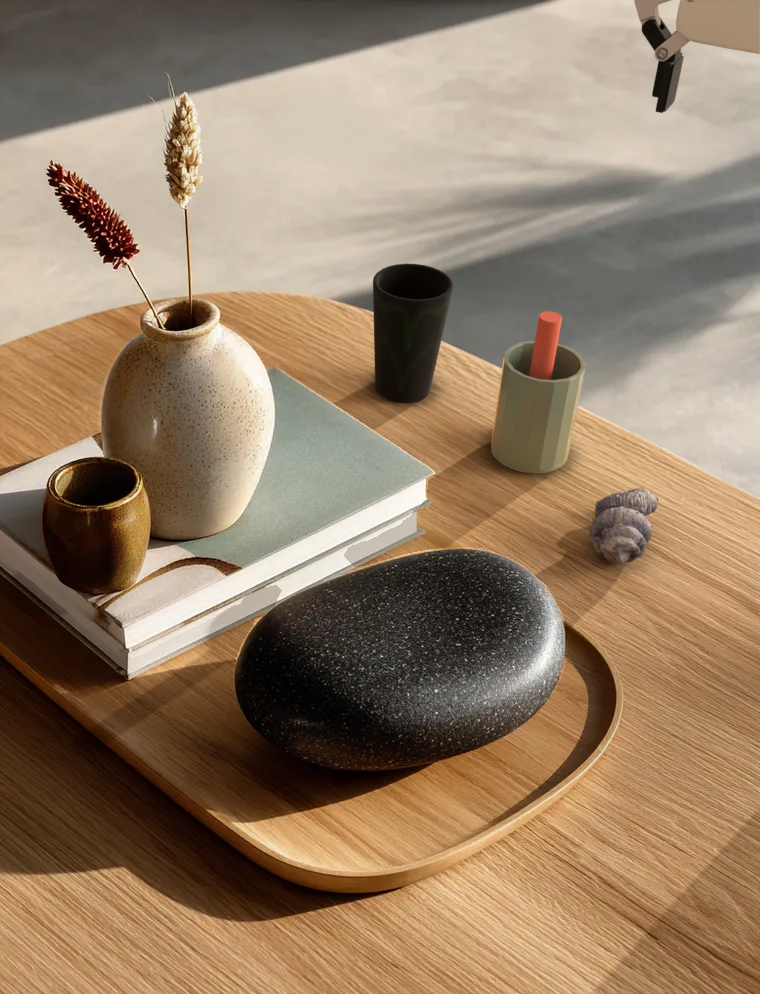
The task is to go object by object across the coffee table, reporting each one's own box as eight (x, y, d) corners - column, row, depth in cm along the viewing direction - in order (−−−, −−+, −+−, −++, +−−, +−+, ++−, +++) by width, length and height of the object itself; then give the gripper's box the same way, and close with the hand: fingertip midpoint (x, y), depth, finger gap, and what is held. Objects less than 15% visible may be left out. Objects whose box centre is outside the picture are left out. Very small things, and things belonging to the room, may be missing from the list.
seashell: (612, 519, 120) (610, 593, 112) (582, 477, 118) (578, 549, 110) (667, 498, 117) (669, 572, 110) (638, 454, 115) (638, 526, 108)
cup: (403, 360, 139) (413, 255, 132) (456, 391, 135) (470, 284, 127) (349, 384, 135) (356, 278, 128) (401, 417, 131) (412, 308, 123)
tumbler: (577, 444, 127) (595, 353, 121) (552, 482, 122) (569, 390, 116) (507, 422, 130) (521, 333, 124) (479, 458, 125) (492, 367, 119)
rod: (542, 444, 126) (565, 314, 118) (534, 455, 125) (557, 324, 117) (522, 438, 127) (543, 309, 119) (514, 448, 126) (535, 318, 117)
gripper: (915, -108, 94) (847, 126, 105) (673, -139, 101) (631, 84, 111) (899, -86, 89) (828, 158, 99) (645, -120, 96) (603, 113, 106)
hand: (724, 119), depth 105 cm, fingers open, 9 cm apart
